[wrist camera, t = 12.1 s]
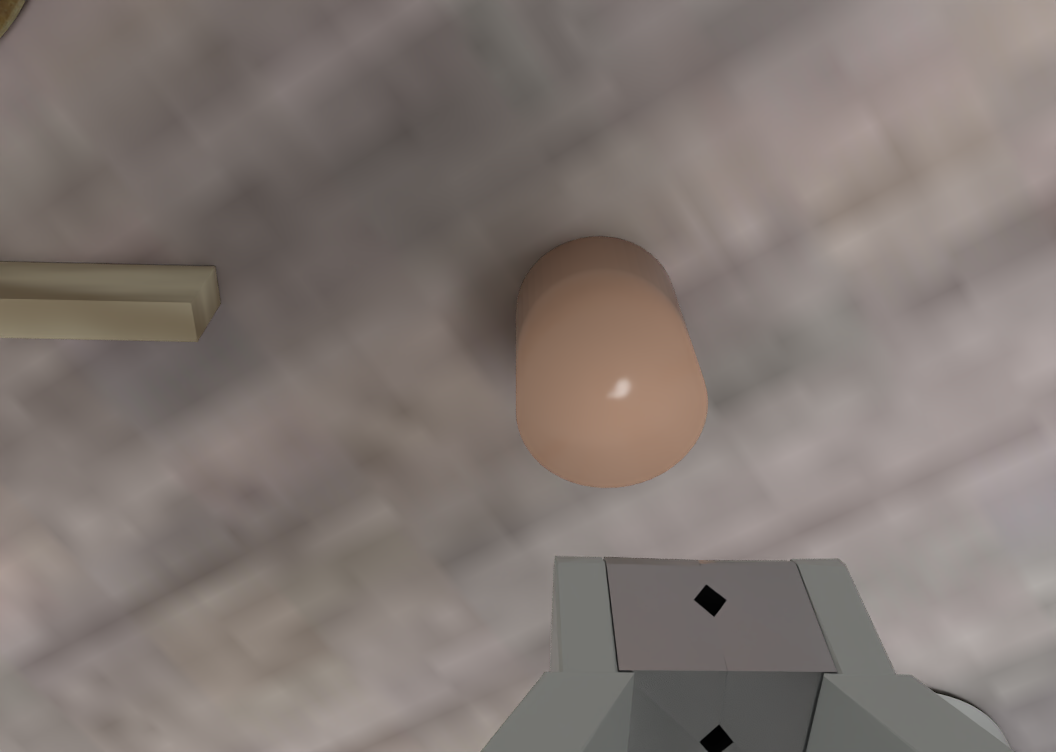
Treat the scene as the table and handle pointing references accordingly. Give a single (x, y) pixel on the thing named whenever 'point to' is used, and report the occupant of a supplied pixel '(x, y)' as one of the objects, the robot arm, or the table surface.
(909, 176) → the table surface
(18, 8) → the toy sandwich meal
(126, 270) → the frame
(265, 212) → the table surface
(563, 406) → the peach rounded cylinder
